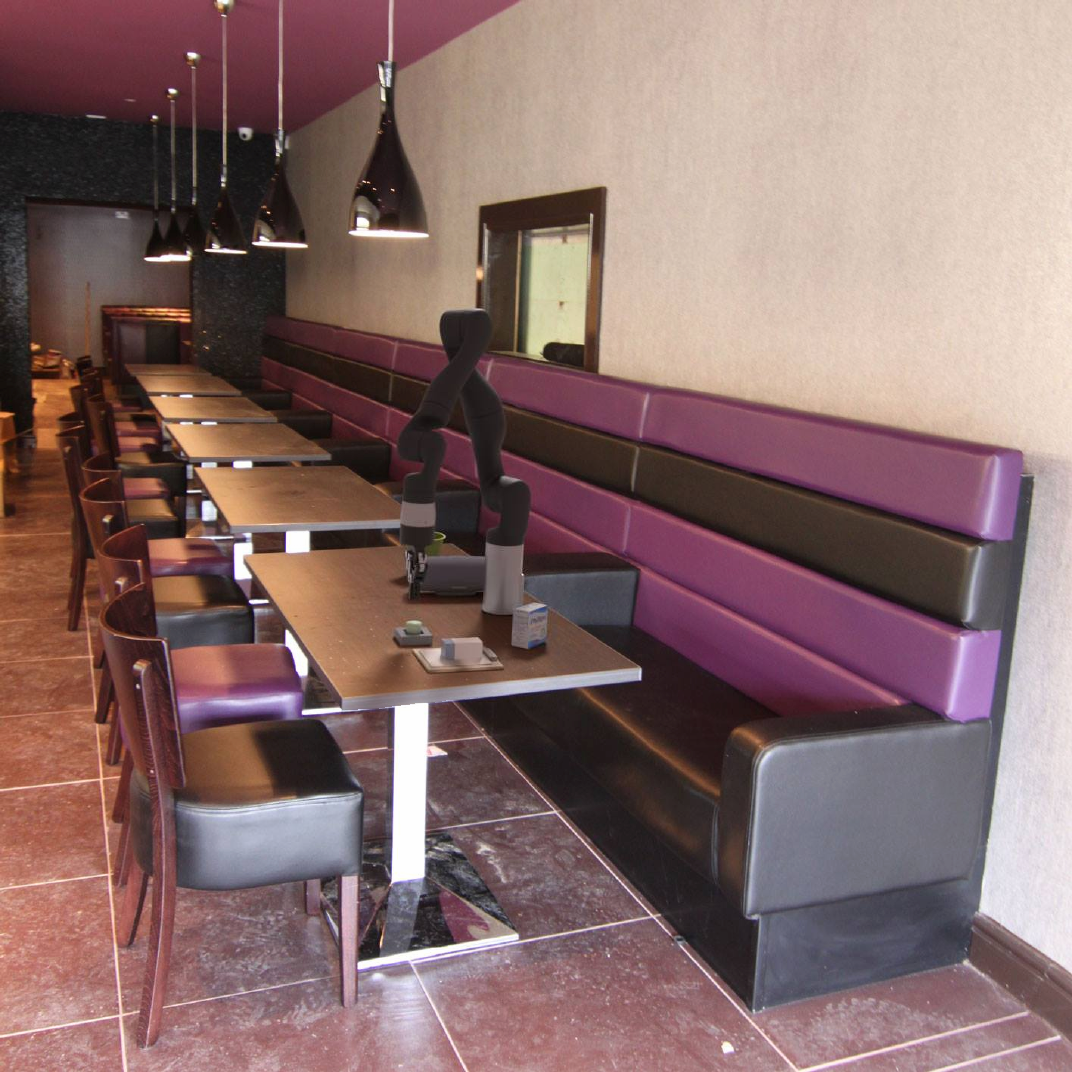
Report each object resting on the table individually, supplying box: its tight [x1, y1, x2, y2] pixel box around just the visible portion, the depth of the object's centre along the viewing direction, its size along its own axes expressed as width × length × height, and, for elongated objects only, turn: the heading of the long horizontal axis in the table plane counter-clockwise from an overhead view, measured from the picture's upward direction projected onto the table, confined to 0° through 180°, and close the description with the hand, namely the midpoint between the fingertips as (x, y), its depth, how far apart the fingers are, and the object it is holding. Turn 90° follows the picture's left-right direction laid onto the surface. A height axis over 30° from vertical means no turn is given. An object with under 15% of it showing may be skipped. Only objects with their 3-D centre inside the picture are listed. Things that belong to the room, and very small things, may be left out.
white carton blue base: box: [440, 636, 484, 660], centre depth 235 cm, size 8×4×4 cm, turn 109°
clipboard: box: [412, 645, 505, 674], centre depth 236 cm, size 16×14×1 cm
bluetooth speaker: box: [420, 555, 485, 596], centre depth 288 cm, size 23×9×10 cm, turn 106°
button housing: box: [393, 626, 434, 647], centre depth 247 cm, size 7×7×2 cm
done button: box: [405, 620, 423, 635], centre depth 247 cm, size 3×3×3 cm
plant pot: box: [405, 531, 447, 557], centre depth 305 cm, size 12×12×11 cm
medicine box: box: [511, 602, 549, 650], centre depth 250 cm, size 8×4×9 cm, turn 148°
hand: (414, 599), depth 246 cm, fingers closed
